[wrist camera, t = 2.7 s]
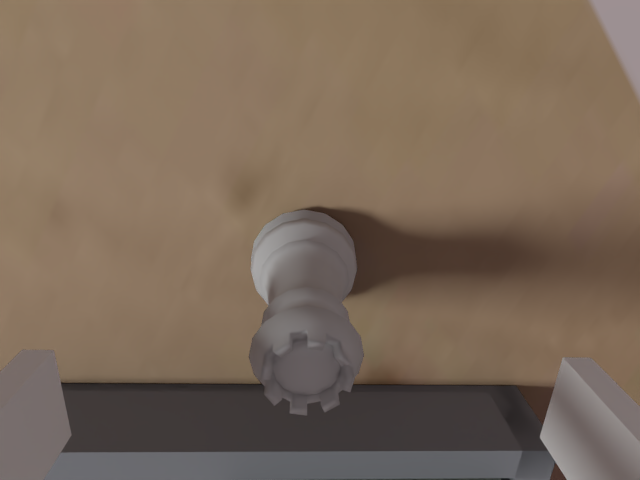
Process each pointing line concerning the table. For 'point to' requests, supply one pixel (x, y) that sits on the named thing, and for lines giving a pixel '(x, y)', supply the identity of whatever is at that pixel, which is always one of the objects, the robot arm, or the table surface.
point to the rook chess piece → (305, 311)
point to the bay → (299, 434)
